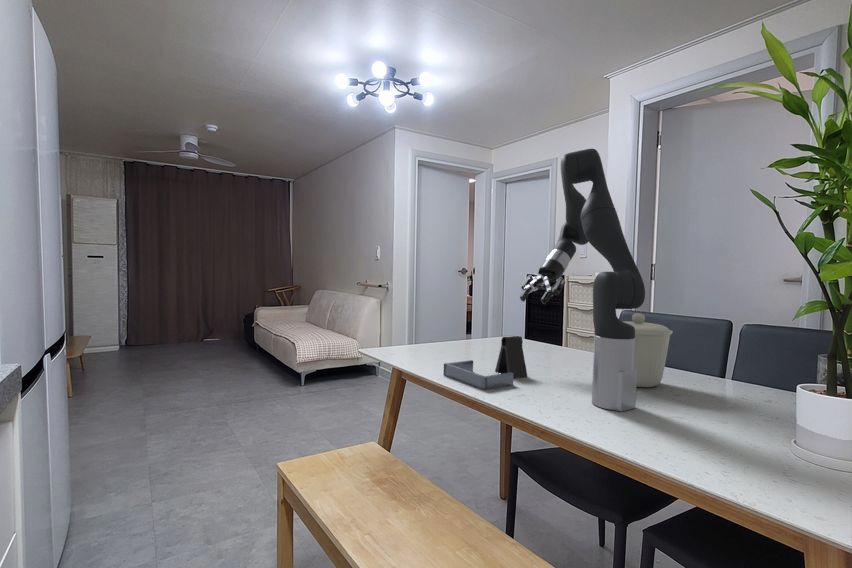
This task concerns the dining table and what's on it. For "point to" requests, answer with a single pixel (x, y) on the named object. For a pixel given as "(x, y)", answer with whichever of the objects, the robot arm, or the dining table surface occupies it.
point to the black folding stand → (511, 357)
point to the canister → (649, 350)
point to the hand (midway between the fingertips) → (532, 301)
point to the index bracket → (476, 376)
